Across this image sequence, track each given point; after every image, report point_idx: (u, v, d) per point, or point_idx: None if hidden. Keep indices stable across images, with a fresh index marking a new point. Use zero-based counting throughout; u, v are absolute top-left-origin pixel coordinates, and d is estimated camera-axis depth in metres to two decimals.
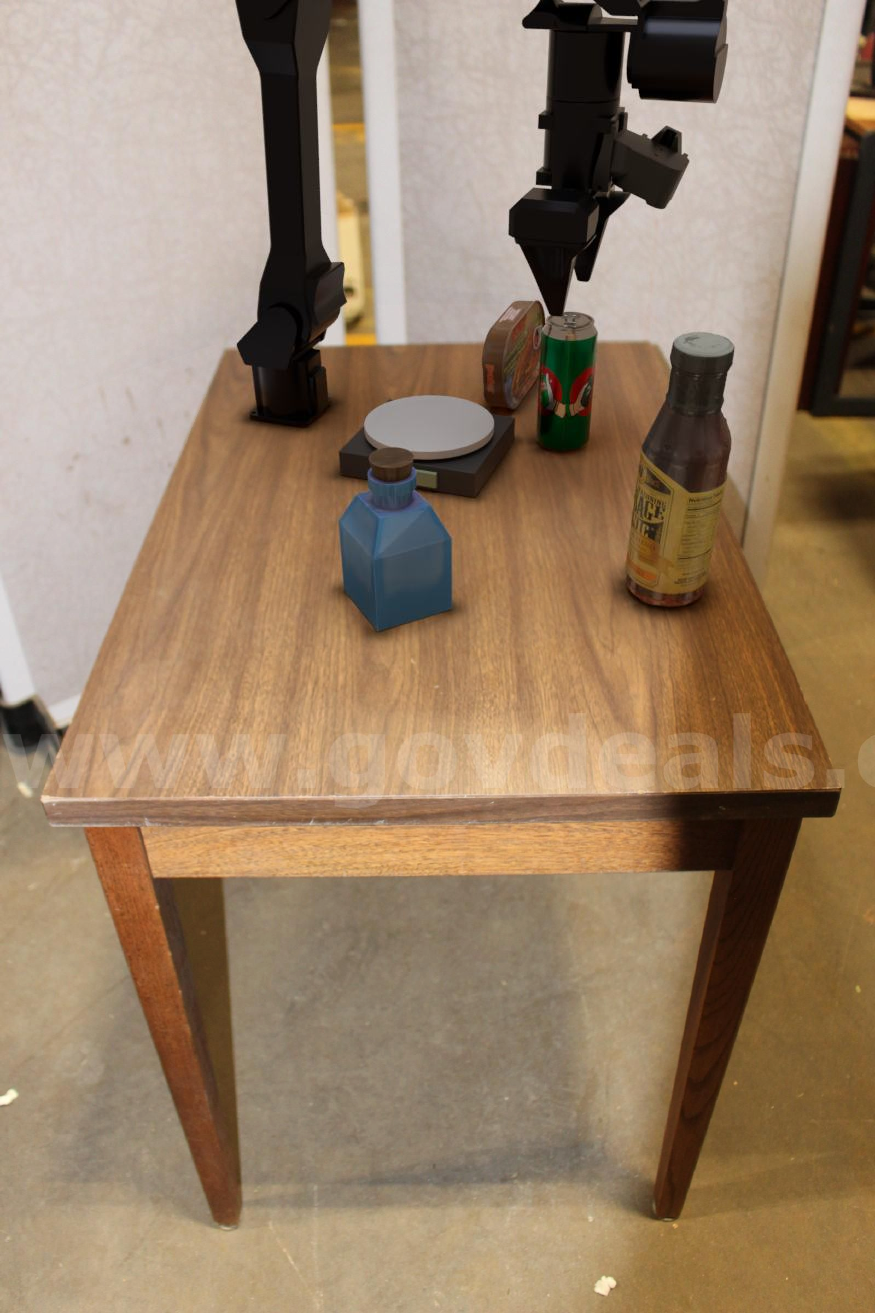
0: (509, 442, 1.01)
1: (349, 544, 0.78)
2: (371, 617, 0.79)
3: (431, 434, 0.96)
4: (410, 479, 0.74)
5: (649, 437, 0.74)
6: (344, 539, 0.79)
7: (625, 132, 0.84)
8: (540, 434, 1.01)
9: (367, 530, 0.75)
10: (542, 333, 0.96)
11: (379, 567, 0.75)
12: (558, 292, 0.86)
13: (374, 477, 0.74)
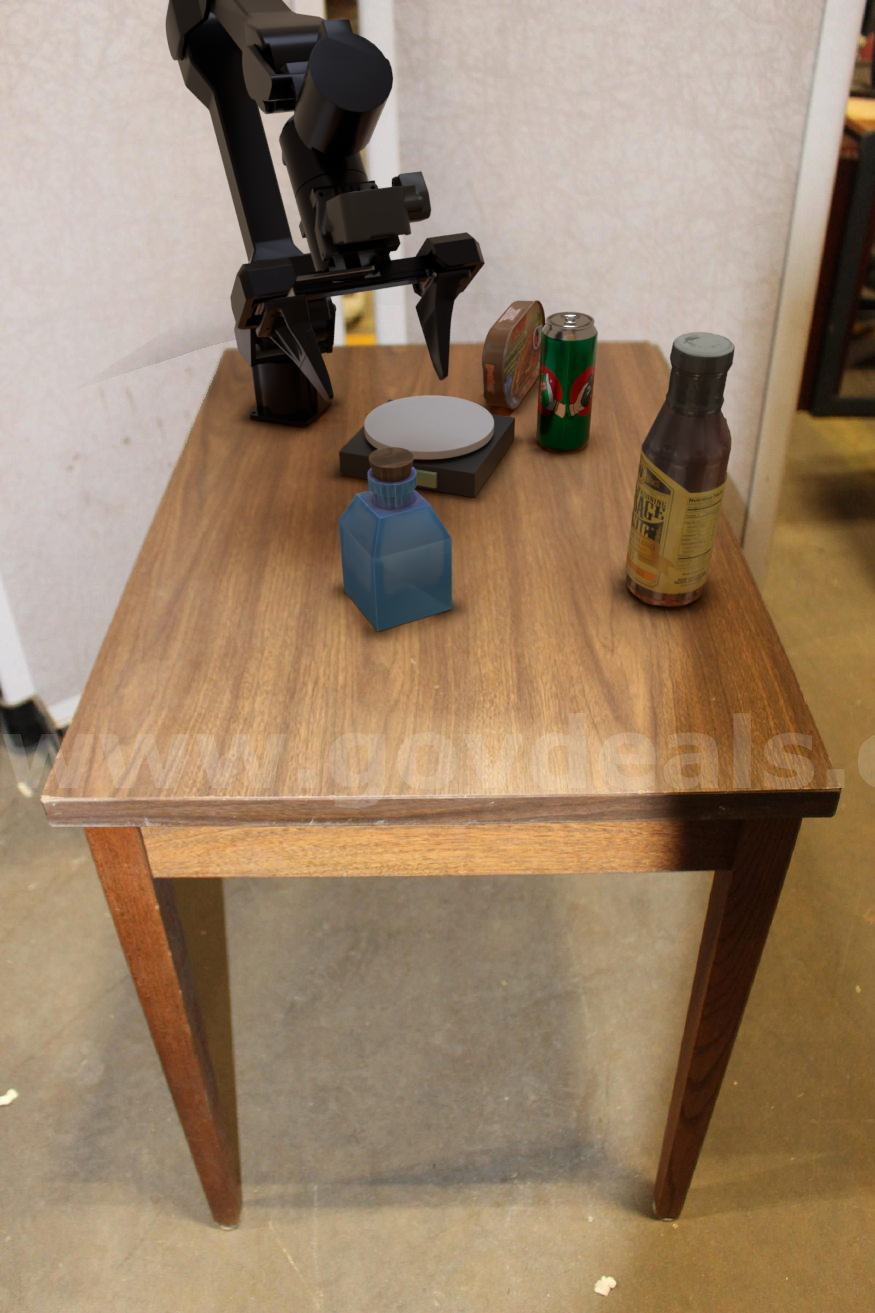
0: (509, 442, 1.01)
1: (349, 544, 0.78)
2: (371, 617, 0.79)
3: (431, 434, 0.96)
4: (410, 479, 0.74)
5: (649, 437, 0.74)
6: (344, 539, 0.79)
7: None
8: (540, 434, 1.01)
9: (367, 530, 0.75)
10: (542, 333, 0.96)
11: (379, 567, 0.75)
12: (312, 371, 0.78)
13: (374, 477, 0.74)
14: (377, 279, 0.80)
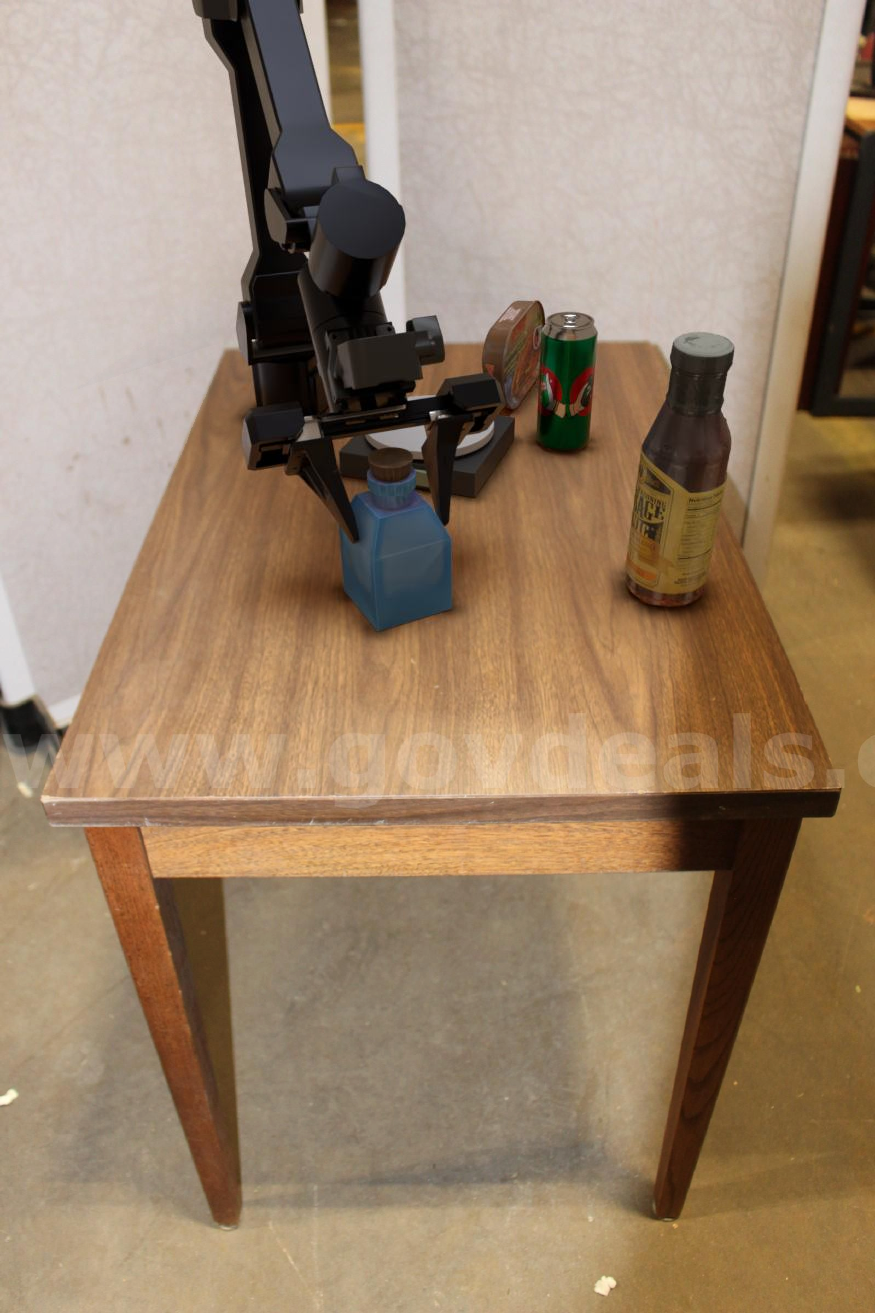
0: (509, 442, 1.01)
1: (348, 544, 0.78)
2: (371, 617, 0.79)
3: None
4: (409, 479, 0.74)
5: (649, 437, 0.74)
6: (344, 539, 0.79)
7: None
8: (540, 434, 1.01)
9: (367, 530, 0.75)
10: (542, 333, 0.96)
11: (379, 567, 0.75)
12: (338, 513, 0.75)
13: (373, 477, 0.74)
14: (377, 423, 0.77)
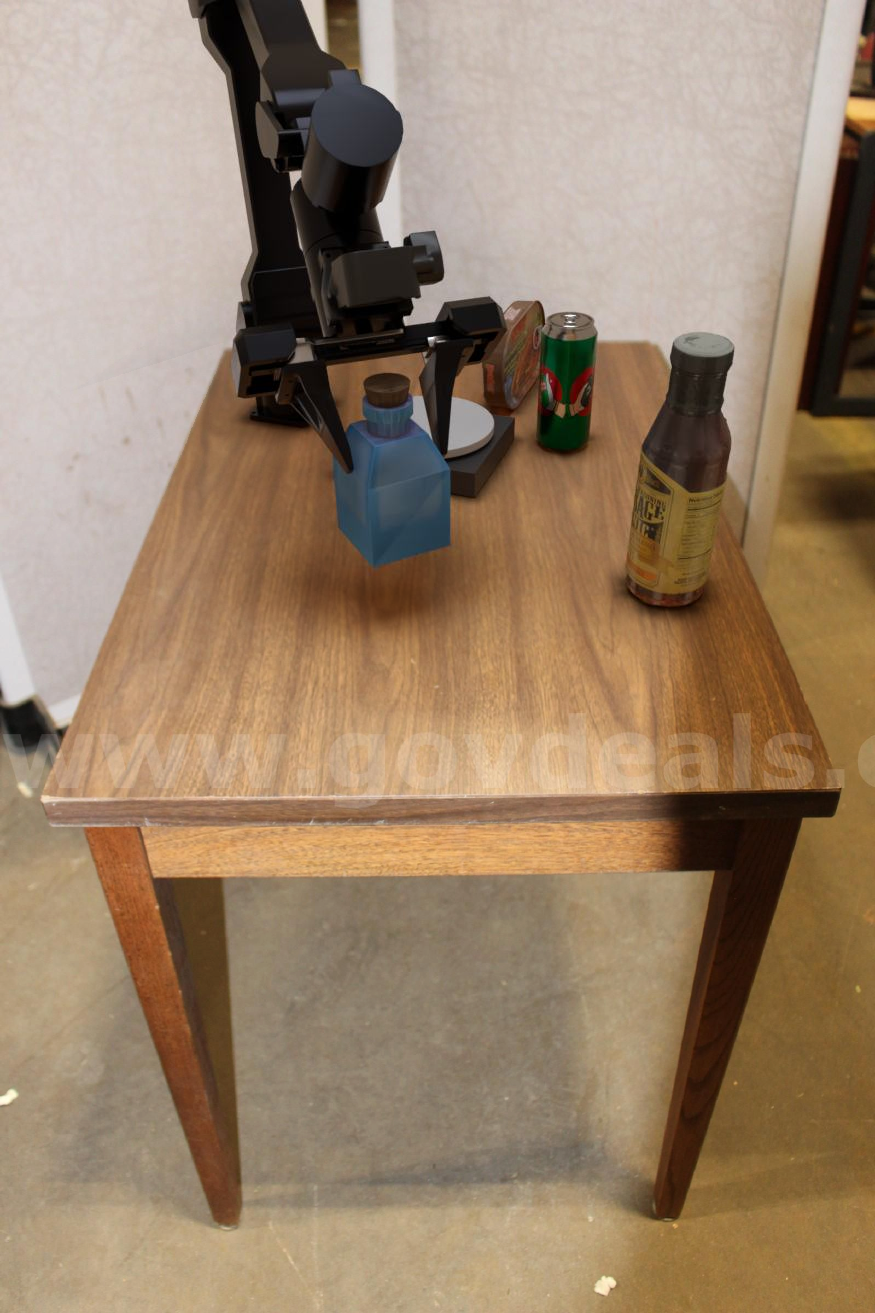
0: (509, 442, 1.01)
1: (342, 476, 0.75)
2: (366, 553, 0.75)
3: None
4: (406, 405, 0.71)
5: (649, 437, 0.74)
6: (338, 471, 0.76)
7: None
8: (540, 434, 1.01)
9: (361, 460, 0.72)
10: (542, 333, 0.96)
11: (374, 498, 0.72)
12: (331, 441, 0.72)
13: (369, 403, 0.71)
14: (373, 348, 0.74)
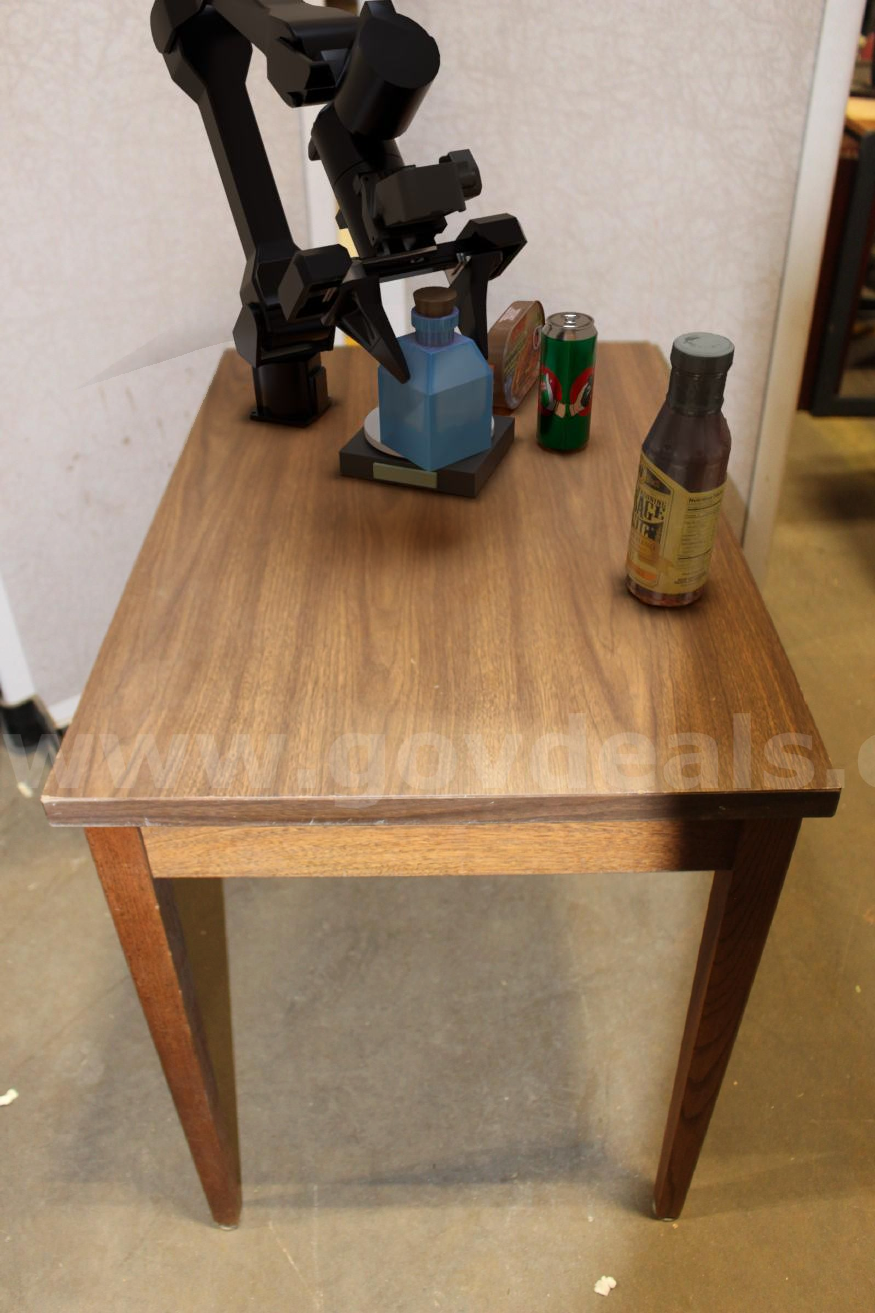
0: (509, 442, 1.01)
1: (391, 389, 0.80)
2: (420, 459, 0.81)
3: None
4: (455, 314, 0.77)
5: (649, 437, 0.74)
6: (385, 386, 0.81)
7: None
8: (540, 434, 1.01)
9: (416, 369, 0.77)
10: (542, 333, 0.96)
11: (433, 403, 0.77)
12: (386, 354, 0.77)
13: (420, 314, 0.76)
14: (409, 266, 0.79)
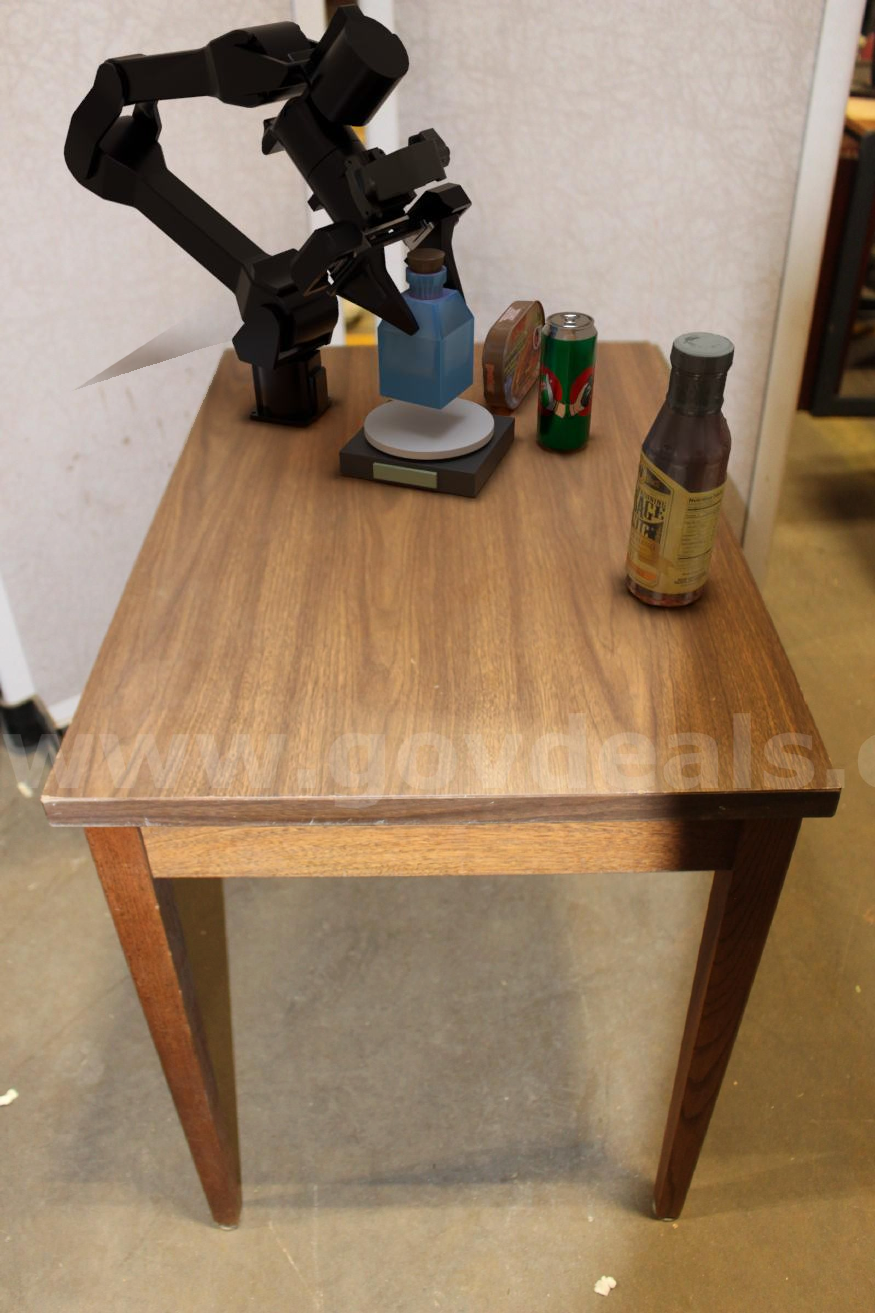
0: (509, 442, 1.01)
1: (395, 343, 0.91)
2: (429, 400, 0.93)
3: (431, 434, 0.96)
4: (445, 269, 0.89)
5: (649, 437, 0.74)
6: (386, 342, 0.92)
7: None
8: (540, 434, 1.01)
9: (422, 320, 0.89)
10: (542, 333, 0.96)
11: (442, 347, 0.90)
12: (396, 311, 0.88)
13: (418, 273, 0.89)
14: (389, 235, 0.90)
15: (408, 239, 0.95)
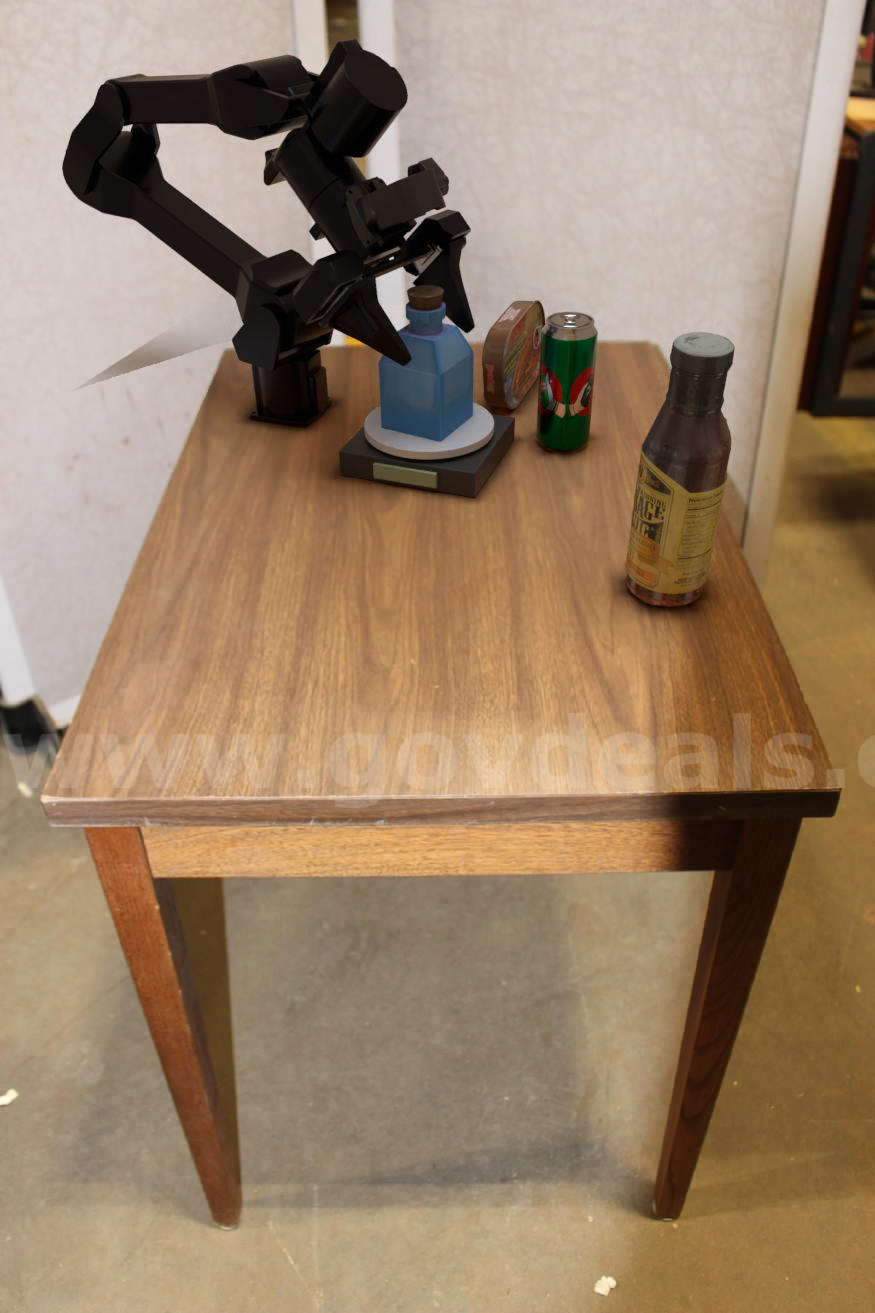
0: (509, 442, 1.01)
1: (396, 377, 0.93)
2: (429, 432, 0.95)
3: None
4: (444, 305, 0.92)
5: (649, 437, 0.74)
6: (387, 376, 0.94)
7: None
8: (540, 434, 1.01)
9: (422, 355, 0.92)
10: (542, 333, 0.96)
11: (442, 382, 0.92)
12: (388, 342, 0.89)
13: (417, 310, 0.91)
14: (398, 259, 0.93)
15: (417, 262, 0.97)
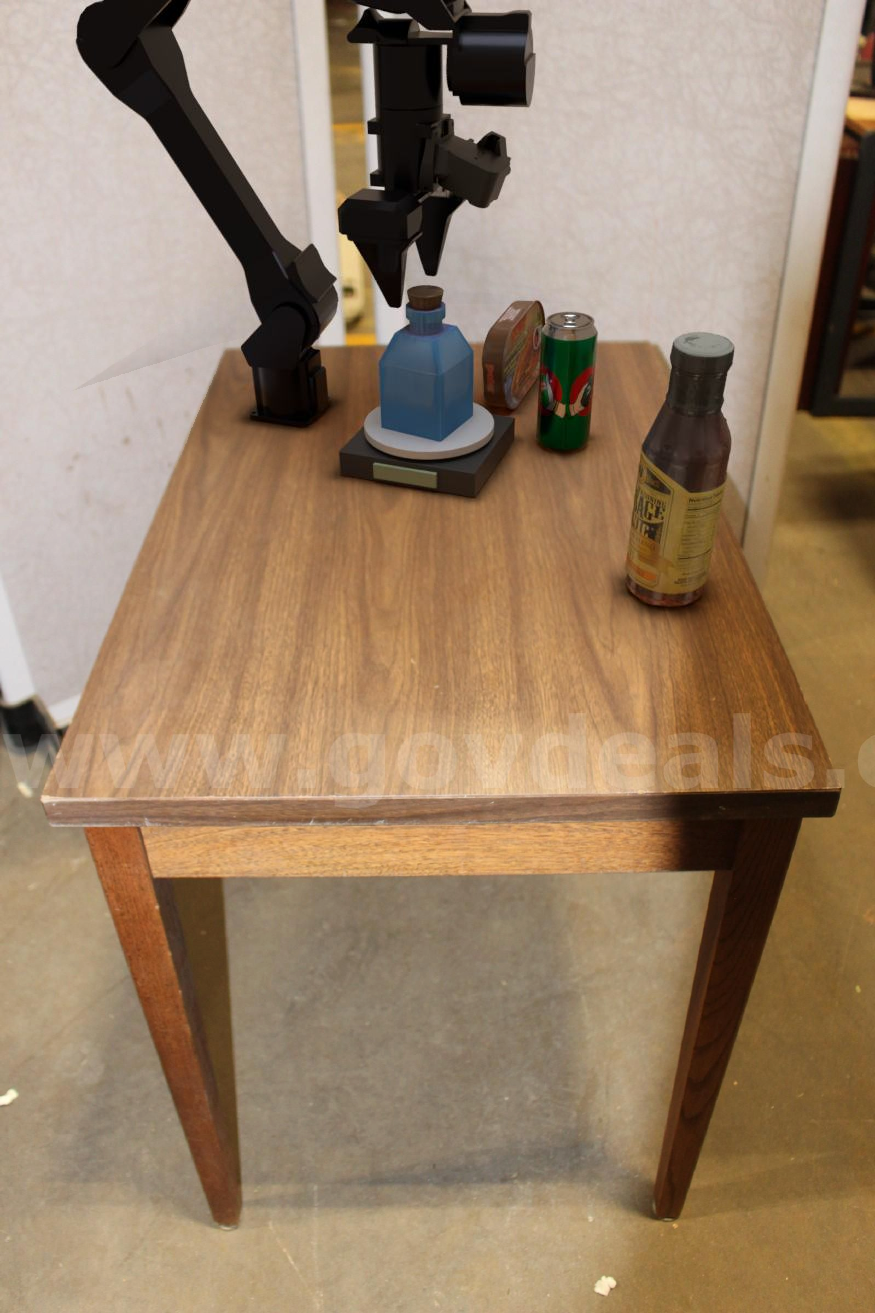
0: (509, 442, 1.01)
1: (396, 377, 0.93)
2: (429, 432, 0.95)
3: None
4: (444, 305, 0.92)
5: (649, 437, 0.74)
6: (387, 376, 0.94)
7: (450, 137, 0.91)
8: (540, 434, 1.01)
9: (422, 355, 0.92)
10: (542, 333, 0.96)
11: (442, 382, 0.92)
12: (393, 285, 0.93)
13: (417, 310, 0.91)
14: None
15: None
